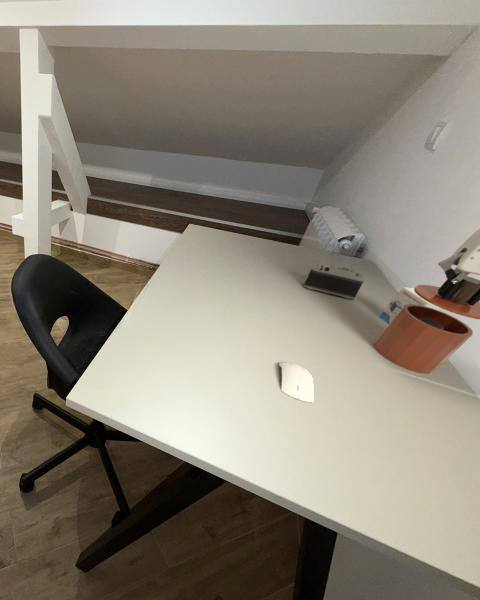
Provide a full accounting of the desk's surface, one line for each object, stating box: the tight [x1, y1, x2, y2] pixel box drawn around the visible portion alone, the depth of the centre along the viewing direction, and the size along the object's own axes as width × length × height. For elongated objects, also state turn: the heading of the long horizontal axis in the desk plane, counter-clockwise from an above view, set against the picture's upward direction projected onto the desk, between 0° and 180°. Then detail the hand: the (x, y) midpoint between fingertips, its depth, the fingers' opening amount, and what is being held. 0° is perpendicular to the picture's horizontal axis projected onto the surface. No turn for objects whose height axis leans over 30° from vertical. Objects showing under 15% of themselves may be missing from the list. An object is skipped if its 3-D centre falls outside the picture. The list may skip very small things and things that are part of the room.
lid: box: [414, 275, 480, 320], centre depth 72 cm, size 14×14×7 cm
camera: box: [303, 263, 366, 300], centre depth 110 cm, size 16×9×10 cm, turn 68°
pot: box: [373, 304, 474, 375], centre depth 80 cm, size 13×13×13 cm
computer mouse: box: [278, 361, 315, 403], centre depth 72 cm, size 7×12×2 cm, turn 156°
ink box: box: [378, 286, 441, 325], centre depth 93 cm, size 9×5×12 cm, turn 179°
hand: (455, 298), depth 73 cm, fingers closed on lid, 4 cm apart
